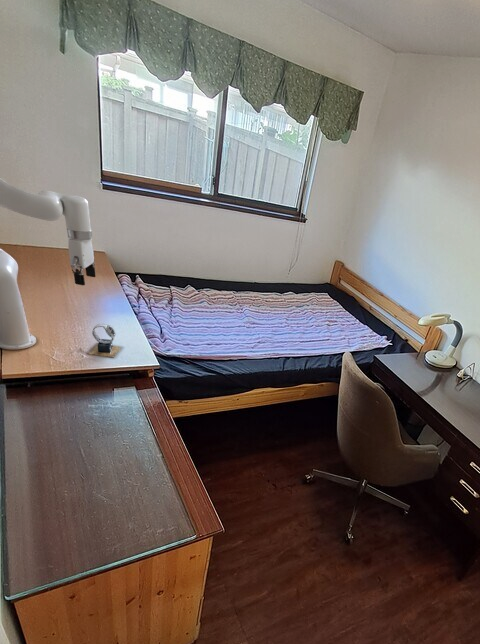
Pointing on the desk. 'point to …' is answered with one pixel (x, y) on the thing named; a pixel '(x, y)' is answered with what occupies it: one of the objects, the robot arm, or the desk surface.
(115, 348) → the brown wooden square tile
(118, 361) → the desk surface
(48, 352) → the desk surface
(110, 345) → the watch
